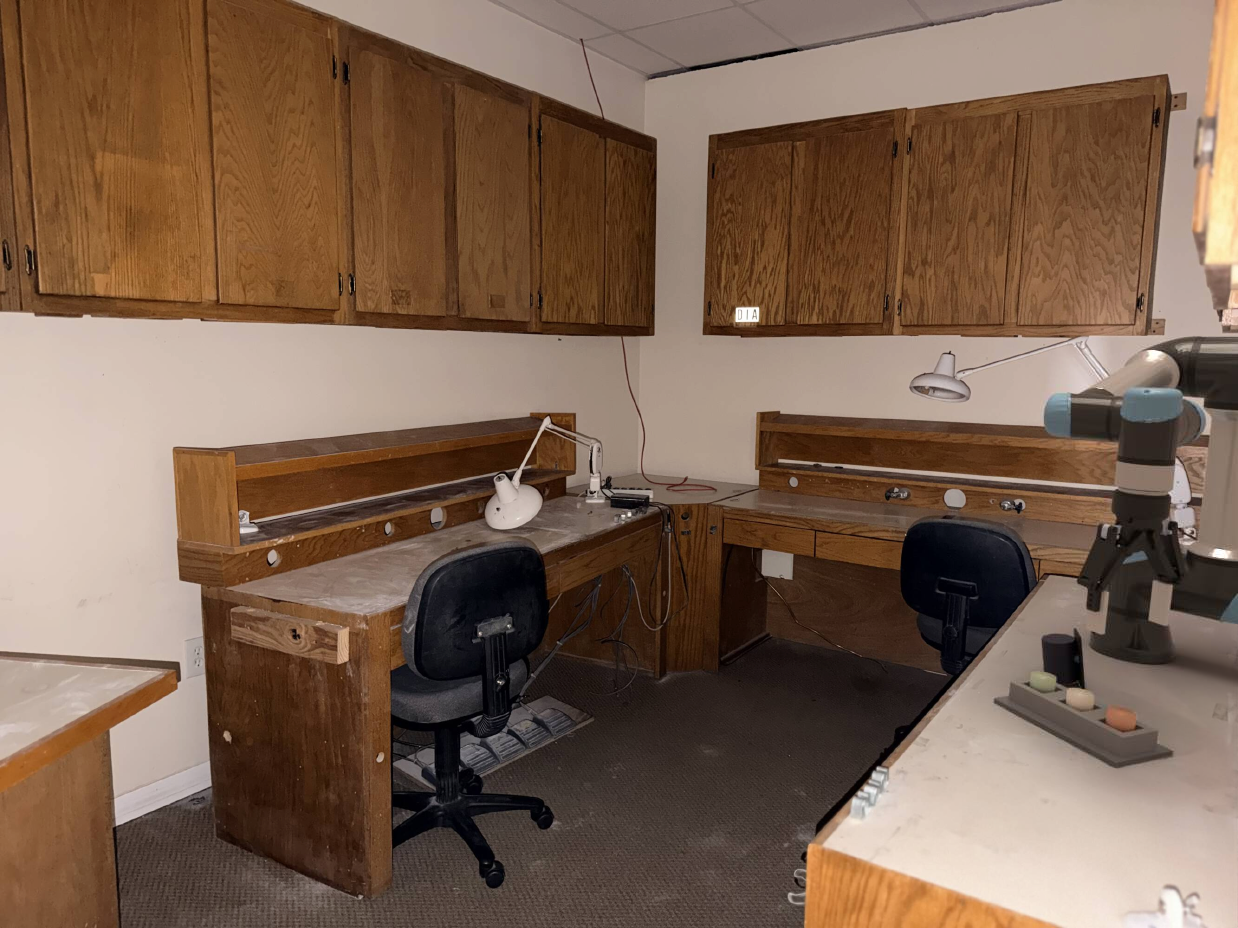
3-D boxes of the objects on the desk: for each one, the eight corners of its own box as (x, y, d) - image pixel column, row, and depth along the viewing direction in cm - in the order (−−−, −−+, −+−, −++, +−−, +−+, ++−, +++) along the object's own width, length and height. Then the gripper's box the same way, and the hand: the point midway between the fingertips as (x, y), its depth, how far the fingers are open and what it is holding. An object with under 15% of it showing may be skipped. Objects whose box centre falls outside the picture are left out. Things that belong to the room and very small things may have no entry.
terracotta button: (1098, 729, 132) (1101, 708, 132) (1117, 725, 134) (1119, 704, 133) (1121, 740, 129) (1124, 719, 128) (1140, 736, 130) (1142, 715, 129)
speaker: (1091, 681, 157) (1090, 628, 156) (1085, 692, 152) (1083, 638, 151) (1047, 674, 162) (1045, 623, 160) (1039, 685, 157) (1038, 632, 156)
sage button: (1023, 691, 146) (1025, 672, 146) (1041, 688, 148) (1042, 669, 147) (1042, 700, 142) (1044, 681, 142) (1060, 697, 144) (1061, 678, 143)
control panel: (993, 702, 148) (995, 680, 147) (1045, 693, 152) (1047, 672, 151) (1115, 767, 125) (1118, 742, 125) (1172, 755, 129) (1175, 731, 129)
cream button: (1059, 709, 139) (1061, 689, 139) (1077, 706, 141) (1079, 686, 140) (1079, 719, 136) (1082, 699, 135) (1098, 716, 137) (1100, 696, 136)
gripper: (1177, 483, 133) (1162, 612, 136) (1059, 489, 125) (1045, 626, 128) (1224, 491, 126) (1207, 627, 130) (1102, 498, 118) (1087, 643, 121)
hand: (1127, 627), depth 129 cm, fingers open, 12 cm apart
